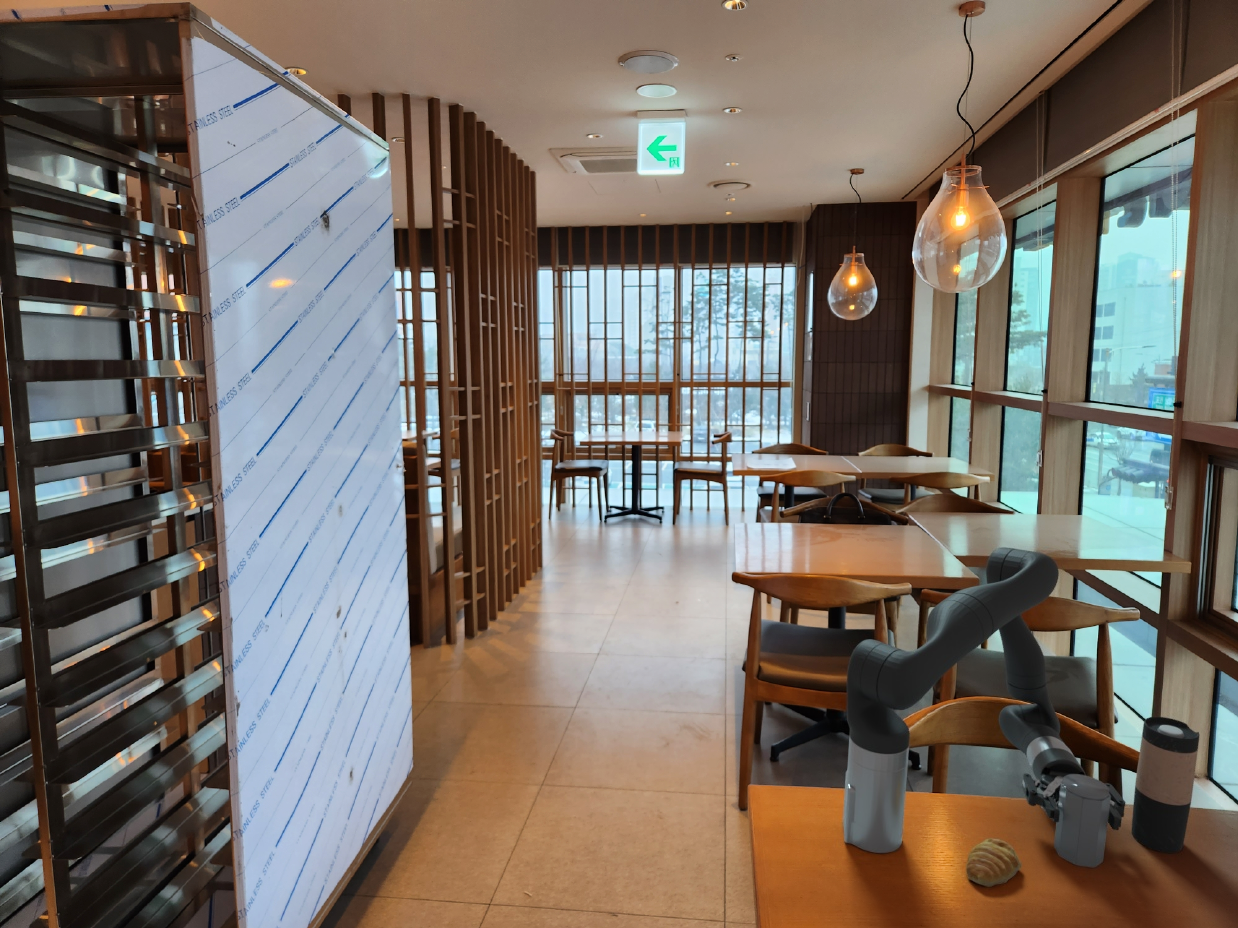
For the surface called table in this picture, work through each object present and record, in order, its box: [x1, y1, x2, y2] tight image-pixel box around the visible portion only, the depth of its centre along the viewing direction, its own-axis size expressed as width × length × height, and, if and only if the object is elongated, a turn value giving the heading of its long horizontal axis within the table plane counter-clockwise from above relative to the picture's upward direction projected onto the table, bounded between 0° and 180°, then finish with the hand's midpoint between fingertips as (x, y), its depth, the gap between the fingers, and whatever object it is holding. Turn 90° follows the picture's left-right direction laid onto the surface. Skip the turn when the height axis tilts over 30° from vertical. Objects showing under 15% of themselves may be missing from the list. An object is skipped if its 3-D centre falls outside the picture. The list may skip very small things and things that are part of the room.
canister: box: [1053, 774, 1111, 868], centre depth 127 cm, size 6×6×12 cm
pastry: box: [965, 837, 1022, 888], centre depth 124 cm, size 9×7×4 cm
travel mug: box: [1131, 716, 1200, 854], centre depth 130 cm, size 8×8×20 cm
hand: (1086, 820), depth 125 cm, fingers open, 8 cm apart
